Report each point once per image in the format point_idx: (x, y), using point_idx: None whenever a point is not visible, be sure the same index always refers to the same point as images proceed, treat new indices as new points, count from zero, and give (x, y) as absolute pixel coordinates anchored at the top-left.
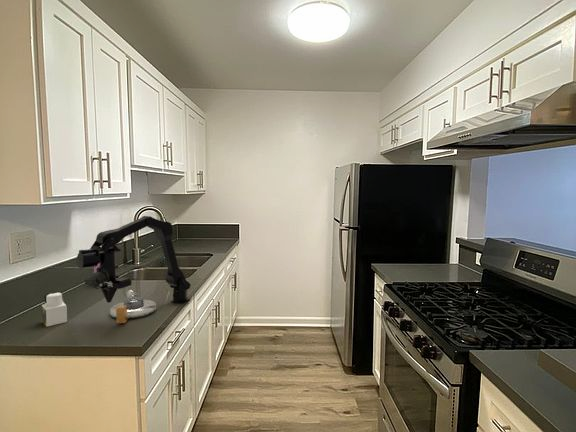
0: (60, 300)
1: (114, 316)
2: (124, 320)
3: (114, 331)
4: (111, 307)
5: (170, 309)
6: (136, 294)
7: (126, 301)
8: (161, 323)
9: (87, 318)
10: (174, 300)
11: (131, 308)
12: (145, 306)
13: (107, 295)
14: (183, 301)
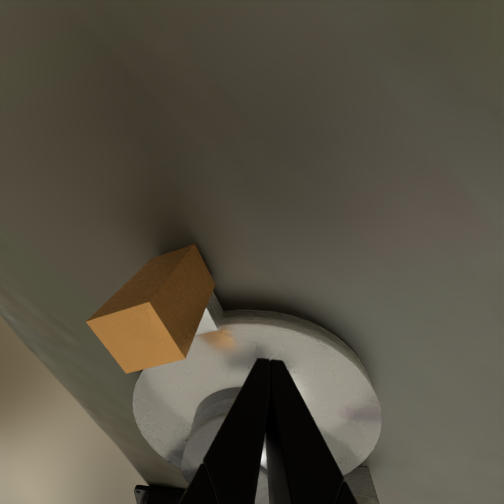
0: None
1: (285, 317)
2: (144, 266)
3: (121, 148)
4: (374, 396)
5: (126, 439)
6: None
7: (264, 449)
8: (7, 314)
9: (470, 277)
10: (163, 500)
11: (219, 397)
12: (186, 433)
13: (245, 462)
14: (137, 497)
